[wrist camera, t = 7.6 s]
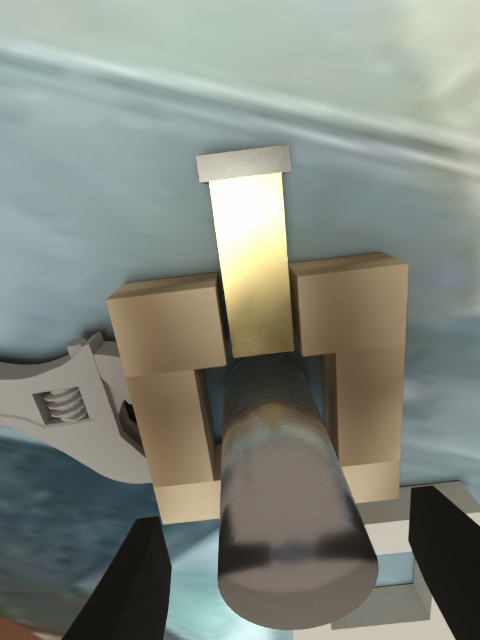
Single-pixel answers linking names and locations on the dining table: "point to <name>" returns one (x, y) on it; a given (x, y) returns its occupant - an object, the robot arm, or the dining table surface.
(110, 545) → the dining table surface
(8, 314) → the dining table surface
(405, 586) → the white square frame
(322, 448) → the grey cylinder
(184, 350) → the socket block
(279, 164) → the key
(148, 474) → the adjustable wrench
